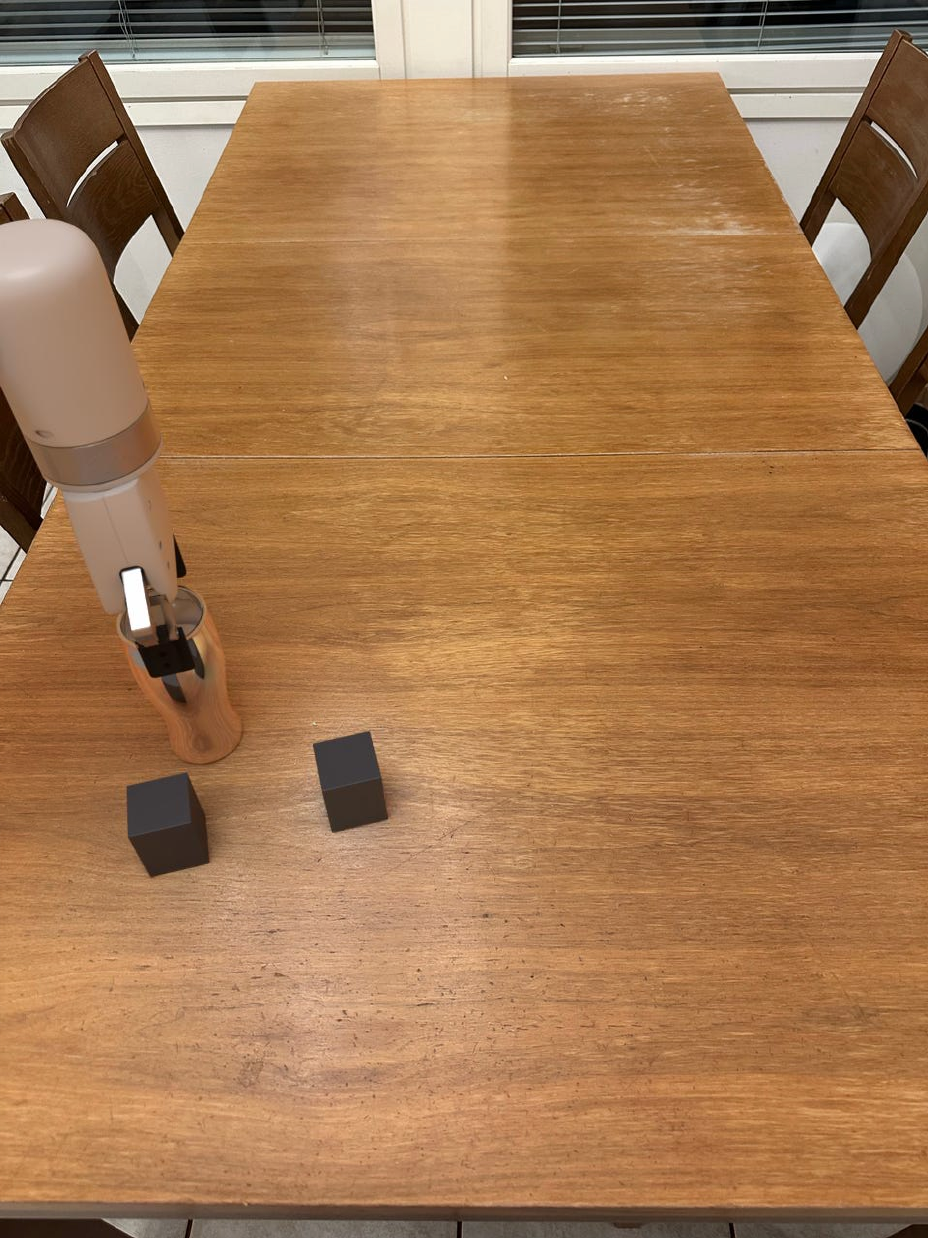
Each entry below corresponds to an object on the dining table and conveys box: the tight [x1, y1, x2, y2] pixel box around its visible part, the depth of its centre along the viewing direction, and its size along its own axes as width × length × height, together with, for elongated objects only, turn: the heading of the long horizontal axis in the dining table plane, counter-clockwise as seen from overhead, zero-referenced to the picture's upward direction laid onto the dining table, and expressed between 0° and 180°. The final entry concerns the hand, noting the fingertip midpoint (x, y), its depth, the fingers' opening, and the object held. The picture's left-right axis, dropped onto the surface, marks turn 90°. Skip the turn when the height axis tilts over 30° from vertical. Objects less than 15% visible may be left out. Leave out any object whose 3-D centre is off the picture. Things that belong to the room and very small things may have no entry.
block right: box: [312, 730, 389, 833], centre depth 74 cm, size 4×4×6 cm
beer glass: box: [115, 584, 243, 765], centre depth 75 cm, size 7×7×15 cm
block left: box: [125, 772, 210, 878], centre depth 71 cm, size 4×4×6 cm
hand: (170, 622), depth 70 cm, fingers open, 9 cm apart
